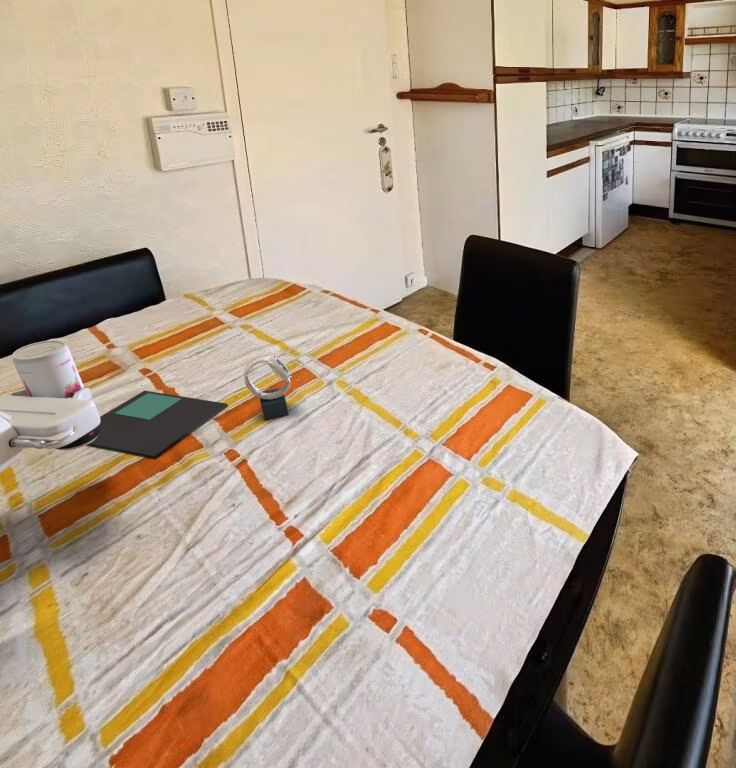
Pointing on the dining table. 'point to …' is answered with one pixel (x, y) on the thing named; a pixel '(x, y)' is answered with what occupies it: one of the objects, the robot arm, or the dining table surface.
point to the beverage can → (51, 377)
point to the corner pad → (148, 406)
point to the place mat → (154, 426)
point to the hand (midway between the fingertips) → (61, 390)
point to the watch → (271, 399)
